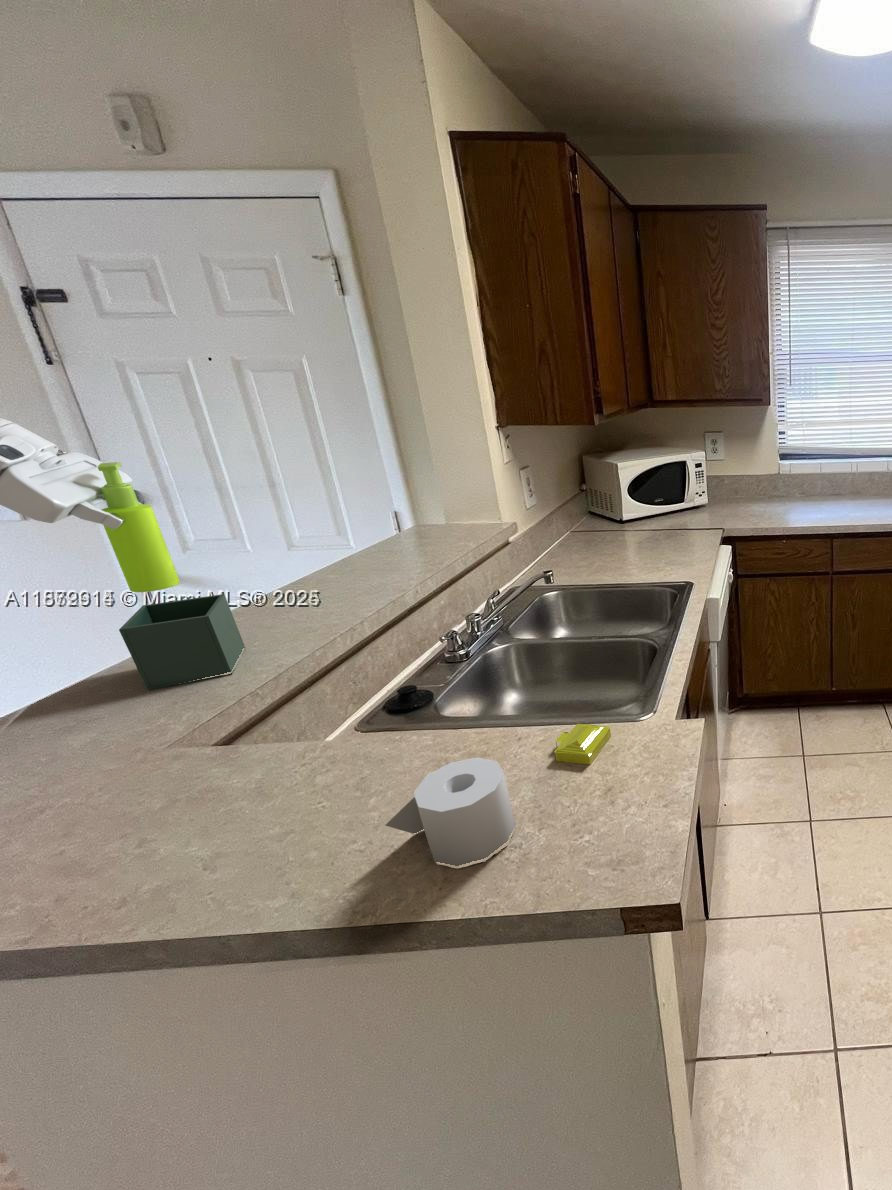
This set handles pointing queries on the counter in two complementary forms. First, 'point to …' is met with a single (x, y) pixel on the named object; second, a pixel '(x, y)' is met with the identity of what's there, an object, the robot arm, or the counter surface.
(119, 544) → the soap dispenser
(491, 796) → the toilet tissue
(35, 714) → the counter surface
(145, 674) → the trash bin
